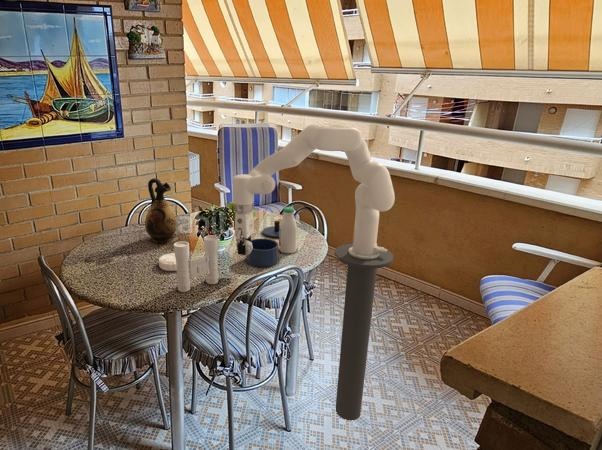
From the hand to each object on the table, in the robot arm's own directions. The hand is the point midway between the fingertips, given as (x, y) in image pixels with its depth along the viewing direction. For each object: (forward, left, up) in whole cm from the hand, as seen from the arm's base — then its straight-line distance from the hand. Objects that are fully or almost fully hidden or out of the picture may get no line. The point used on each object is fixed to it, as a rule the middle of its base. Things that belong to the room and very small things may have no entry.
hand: (244, 250), depth 161 cm
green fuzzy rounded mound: (+22, -57, -10) cm, 62 cm away
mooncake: (+30, +3, -10) cm, 32 cm away
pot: (-4, -13, -9) cm, 16 cm away
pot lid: (-2, -47, -9) cm, 48 cm away
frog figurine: (0, 0, -2) cm, 2 cm away
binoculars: (+13, +16, -10) cm, 23 cm away
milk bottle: (-11, -27, -10) cm, 31 cm away
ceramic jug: (+50, -22, -10) cm, 56 cm away
